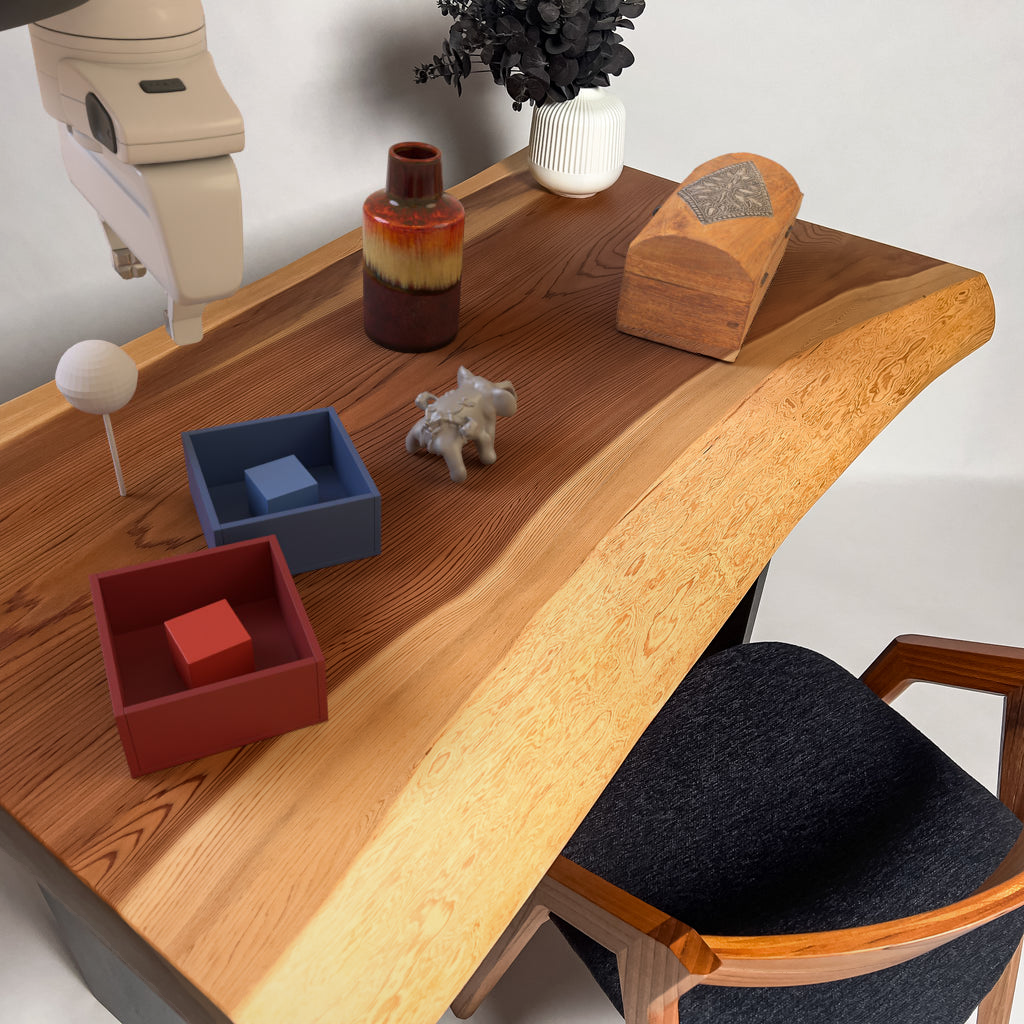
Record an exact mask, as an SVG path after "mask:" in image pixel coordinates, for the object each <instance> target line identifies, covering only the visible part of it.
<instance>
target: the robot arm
mask: <svg viewBox="0 0 1024 1024" xmlns="http://www.w3.org/2000/svg"><path fill="white" fill-rule="evenodd" d="M26 25H27V28H28V31H29V32H28V33H29V38H30V43H31V50H32V54H33V60H34V65H35V70H36V76H37V80H38V81H37V82H38V86H39V92H40V99H41V102H42V107H43V110H44V111H45V112H46V113H47V114H48V115H49V116H50V117H51V118H53V119H55V120H56V123H57V130H58V138H59V143H60V144H59V145H60V151H61V158H62V162H63V166H64V168H65V171H66V174H67V177H68V179H69V181H70V183H71V184H72V186H73V187H74V188H75V189H76V190H77V192H79V193H80V195H81V196H82V197H83V198H84V199H85V200H86V201H87V202H88V203H89V205H90V206H91V207H92V208H93V210H94V211H95V213H96V216H97V220H98V222H99V225H100V227H101V229H102V233H103V235H104V238H105V240H106V243H107V246H108V249H109V255H110V260H111V267H112V268H113V270H114V271H115V272H116V273H117V274H118V275H119V277H120V278H121V279H123V280H126V281H127V280H132V279H134V278H135V279H139V278H143V277H144V276H146V274H147V272H149V274H150V275H151V276H152V277H153V278H154V279H155V280H156V282H157V283H158V284H159V285H160V286H161V287H162V289H163V292H164V295H166V296H167V309H164V310H162V312H163V319H164V320H163V321H164V323H165V326H164V328H165V332H166V333H167V335H168V336H169V337H170V338H171V340H172V341H173V342H174V343H175V345H177V346H179V347H185V346H188V345H193V344H197V343H199V342H201V341H202V339H204V327H203V317H202V316H203V314H204V311H205V309H206V306H207V304H208V303H213V302H217V301H220V300H226V299H229V298H232V297H234V296H235V295H236V294H237V292H238V290H239V288H240V286H241V284H242V282H243V277H244V276H243V275H244V222H243V221H244V220H243V201H242V187H241V181H240V177H239V172H238V168H237V166H236V163H235V161H234V158H233V157H232V155H231V154H238V153H241V152H243V151H244V150H245V146H246V132H245V131H246V130H245V123H244V117H243V115H242V112H241V111H240V109H239V107H238V106H237V104H236V103H235V100H234V99H233V98H232V96H231V95H230V94H229V92H228V90H227V89H226V88H227V87H225V85H224V82H222V79H221V77H220V76H219V73H218V71H217V68H216V65H215V61H214V57H213V55H212V53H211V51H209V50H208V40H207V39H208V38H207V26H206V17H205V11H204V7H203V4H202V1H201V0H0V33H1V32H5V31H9V30H12V29H16V28H21V27H23V26H26Z"/></svg>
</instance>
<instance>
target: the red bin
mask: <svg viewBox="0 0 1024 1024" xmlns="http://www.w3.org/2000/svg"><path fill="white" fill-rule="evenodd" d="M87 578H88V582H89V588H90V592H91V598H92V604H93V609H94V615H95V620H96V625H97V631H98V636H99V641H100V646H101V652H102V657H103V658H102V659H103V663H104V668H105V669H104V670H105V673H106V679H107V684H108V690H109V696H110V701H111V706H112V707H111V708H112V711H113V717H114V721H115V725H116V728H117V731H118V735H119V738H120V743H121V746H122V750H123V752H124V755H125V760H126V763H127V767H128V770H129V773H130V777H131V779H137V778H139V777H143V776H145V775H149V774H153V773H156V772H159V771H162V770H166V769H169V768H172V767H176V766H179V765H183V764H186V763H189V762H193V761H197V760H200V759H203V758H207V757H210V756H213V755H217V754H220V753H224V752H227V751H230V750H234V749H237V748H241V747H243V746H247V745H250V744H254V743H257V742H261V741H264V740H267V739H270V738H274V737H277V736H281V735H284V734H288V733H291V732H294V731H297V730H301V729H304V728H308V727H311V726H314V725H317V724H321V723H324V722H327V721H329V706H328V688H327V685H328V684H327V669H326V668H327V667H326V659H325V656H324V654H323V651H322V648H321V646H320V643H319V641H318V639H317V636H316V633H315V631H314V629H313V626H312V624H311V621H310V618H309V615H308V614H307V611H306V608H305V606H304V603H303V601H302V599H301V596H300V593H299V590H298V588H297V585H296V583H295V580H294V578H293V575H291V573H290V570H289V568H288V565H287V563H286V560H285V558H284V555H283V553H282V550H281V548H280V545H279V543H278V540H277V538H276V535H275V534H274V535H269V536H265V537H260V538H256V539H251V540H247V541H242V542H237V543H233V544H228V545H224V546H219V547H215V548H210V549H209V548H206V549H201V550H197V551H193V552H187V553H182V554H178V555H173V556H169V557H163V558H161V559H155V560H151V561H147V562H142V563H137V564H133V565H128V566H123V567H120V568H115V569H109V570H105V571H100V572H96V573H91V574H88V576H87ZM223 599H226V600H227V602H228V603H229V605H230V607H231V608H232V610H233V611H234V613H235V614H236V616H237V617H238V619H239V620H240V622H241V623H242V625H243V626H244V628H245V629H246V631H247V633H248V634H249V636H250V637H251V639H252V647H253V655H254V663H255V671H256V672H254V673H250V674H247V675H243V676H239V677H236V678H232V679H228V680H224V681H221V682H217V683H213V684H210V685H206V686H202V687H199V688H195V689H191V690H187V688H186V687H185V685H184V683H183V681H182V680H181V678H180V676H179V674H178V673H177V671H176V669H175V667H174V665H173V663H172V658H171V653H170V648H169V644H168V639H167V634H166V629H165V625H164V622H166V621H168V620H171V619H174V618H176V617H179V616H182V615H184V614H187V613H189V612H192V611H195V610H197V609H200V608H202V607H205V606H208V605H210V604H213V603H215V602H218V601H221V600H223Z"/></svg>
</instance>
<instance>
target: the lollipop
mask: <svg viewBox="0 0 1024 1024" xmlns="http://www.w3.org/2000/svg"><path fill="white" fill-rule="evenodd" d="M138 377H139V370H138V367H137V364H136V362H135V361H134V359H133V357H131V356H130V355H129V354H128V353H127V352H126V351H125V350H124V349H123V348H121V347H120V346H118V345H117V344H115V343H113V342H109V341H107V340H103V339H87V340H82V341H80V342H77V343H75V344H74V345H72V346H71V347H69V348H68V349H67V350H66V351H65V352H64V353H63V355H62V356H61V358H60V359H59V361H58V364H57V367H56V370H55V373H54V378H55V385H56V388H57V389H58V391H59V392H60V393H61V395H62V396H63V397H64V399H65V400H66V401H67V402H68V403H69V404H70V405H71V406H72V407H74V408H75V409H77V410H79V411H81V412H83V413H86V414H91V415H102V417H103V422H104V426H105V431H106V435H107V439H108V443H109V449H110V453H111V457H112V461H113V462H112V463H113V466H114V470H115V474H116V479H117V483H118V484H117V485H118V488H119V492H120V496H121V497H126V496H127V490H126V485H125V480H124V477H123V472H122V467H121V464H120V463H121V462H120V459H119V454H118V449H117V445H116V439H115V435H114V432H113V431H114V430H113V427H112V422H111V418H110V414H112V413H115V412H117V411H119V410H120V409H122V408H124V407H125V406H126V405H128V403H129V402H130V401H131V400H132V398H133V397H134V394H135V392H136V390H137V386H138Z"/></svg>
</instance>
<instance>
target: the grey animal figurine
mask: <svg viewBox="0 0 1024 1024" xmlns="http://www.w3.org/2000/svg"><path fill="white" fill-rule="evenodd" d="M456 382H457V388H456V389H450V390H449V391H445V393H444V394H442V395H441V396H440V397H437V396H436V395H434V394H432V393H430V392H429V391H423V392H421V393H419V394H418V395H417V396H416V398H415V400H414V405H415V406H416V407H417V408H419V409H420V410H422V411H424V417H422V418H420V419H419V420H418V421H417V422H416V423H415V424H414V425H413V426H412V427H411V429H410V430H409V431H408V433H407V435H406V437H405V448H406V451H407V452H408V453H409V454H412V455H413V454H415V453H417V452H418V451H419V450H420V448H421V449H425V448H427V451H428V453H430V454H432V455H435V454H436V456H442V457H443V458H444V460H445V462H446V465H447V467H448V470H449V477H450V479H451V481H452V482H453V483H456V484H462V483H463V482H464V481H466V479H467V477H468V472H467V468H466V465H465V463H464V460H463V459H464V458H463V454H462V451H463V446H465V445H466V444H468V441H472V442H473V445H474V447H475V449H476V451H477V453H478V457H479V460H480V462H481V463H482V464H483V465H486V466H491V465H493V464H494V463H496V461H497V453H496V451H495V439H496V426H497V416H499V417H504V418H510V417H513V416H514V415H515V414H516V412H517V411H518V404H517V402H518V395H517V394H518V393H516V390H515V386H514V385H513V384H512V383H513V382H511V380H504V381H500V382H492V381H489V380H488V379H486V378H485V377H482V376H481V375H475V374H473V373H472V372H471V371H470V370H469V369H467V368H465V366H463V365H461V366H459V368H458V371H457V374H456ZM430 400H433V401H434V402H433V403H430V404H429V401H430Z"/></svg>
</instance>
